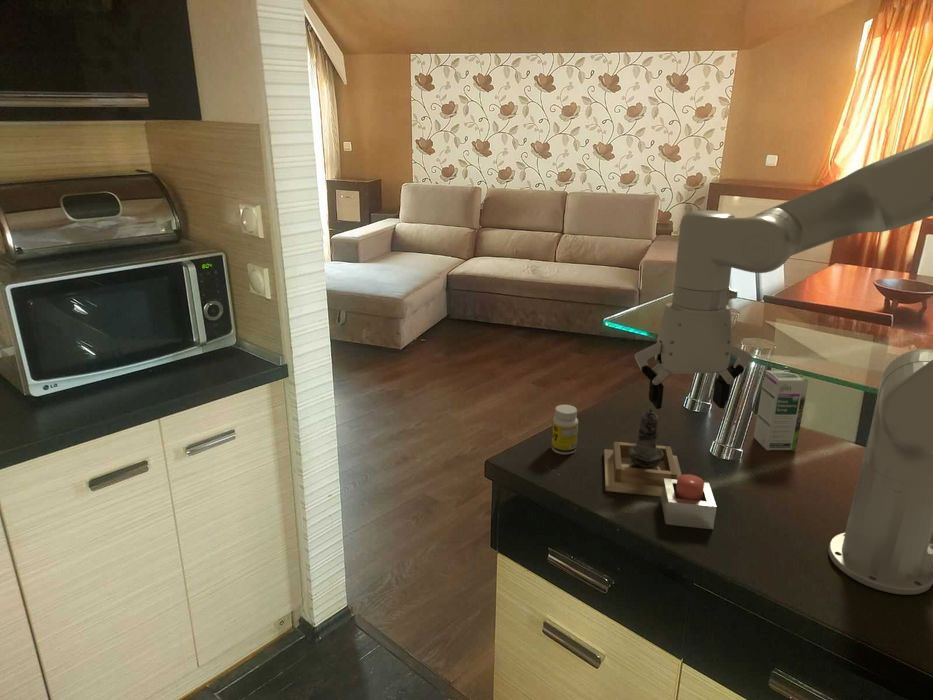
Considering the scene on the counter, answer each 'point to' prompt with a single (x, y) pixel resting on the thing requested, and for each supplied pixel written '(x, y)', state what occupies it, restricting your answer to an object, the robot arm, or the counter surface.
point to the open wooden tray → (637, 471)
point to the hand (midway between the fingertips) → (687, 405)
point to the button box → (688, 507)
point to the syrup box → (780, 410)
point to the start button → (689, 487)
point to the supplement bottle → (564, 429)
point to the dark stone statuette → (646, 444)
